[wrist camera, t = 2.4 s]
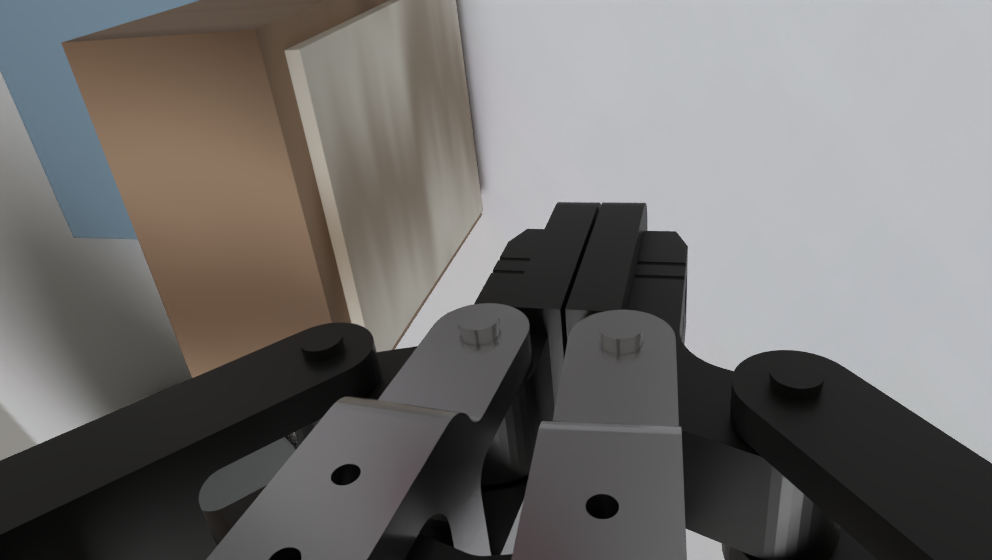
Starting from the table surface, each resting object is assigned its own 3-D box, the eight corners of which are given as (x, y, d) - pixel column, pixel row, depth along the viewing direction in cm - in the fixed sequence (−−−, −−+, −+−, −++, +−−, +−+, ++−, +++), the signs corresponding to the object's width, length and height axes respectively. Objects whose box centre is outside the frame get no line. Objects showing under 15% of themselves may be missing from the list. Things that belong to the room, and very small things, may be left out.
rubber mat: (-35, -35, 24) (-46, -34, 24) (278, -70, 21) (272, -69, 21) (81, 232, 29) (73, 237, 29) (350, 239, 26) (346, 244, 26)
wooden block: (318, -36, 21) (61, 42, 13) (457, -49, 20) (271, 28, 12) (371, 213, 25) (198, 395, 17) (490, 215, 24) (367, 411, 16)
